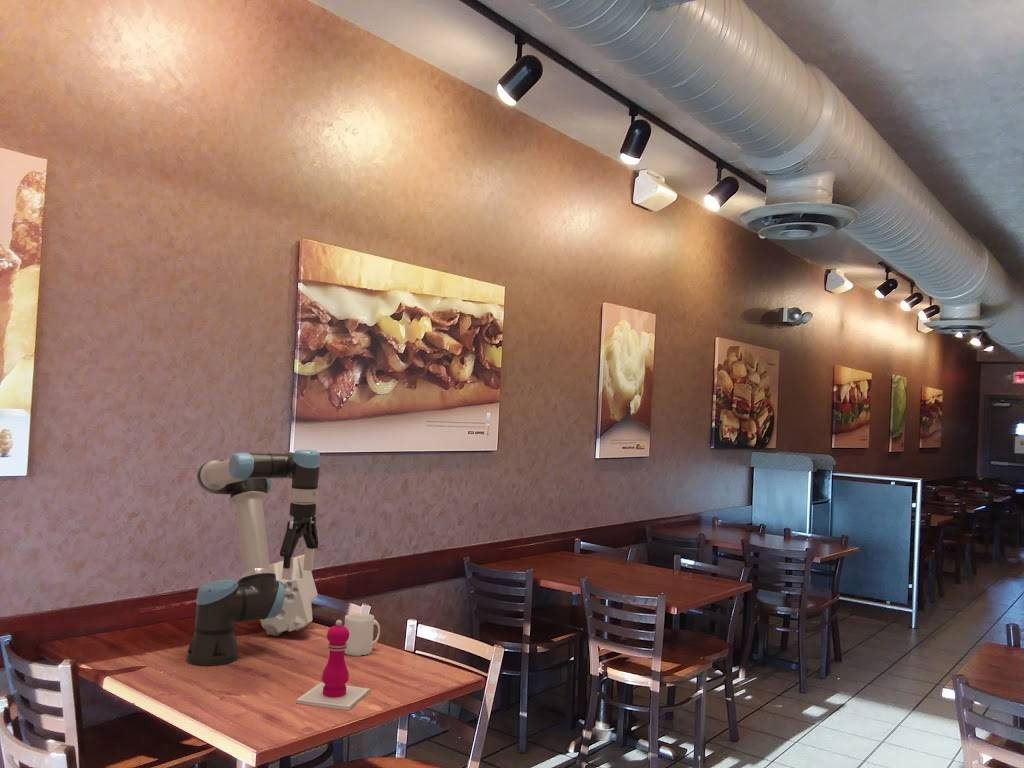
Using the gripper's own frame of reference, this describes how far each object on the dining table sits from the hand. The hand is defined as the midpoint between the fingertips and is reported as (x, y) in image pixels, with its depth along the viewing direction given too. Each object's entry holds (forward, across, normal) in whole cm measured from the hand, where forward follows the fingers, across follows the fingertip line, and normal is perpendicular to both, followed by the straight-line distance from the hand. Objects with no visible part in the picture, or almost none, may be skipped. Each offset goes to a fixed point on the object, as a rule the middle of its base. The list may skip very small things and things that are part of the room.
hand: (297, 574), depth 235 cm
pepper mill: (+28, -12, -19) cm, 36 cm away
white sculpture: (+32, +44, +24) cm, 59 cm away
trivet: (+29, -12, -19) cm, 37 cm away
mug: (+31, +31, -10) cm, 45 cm away
